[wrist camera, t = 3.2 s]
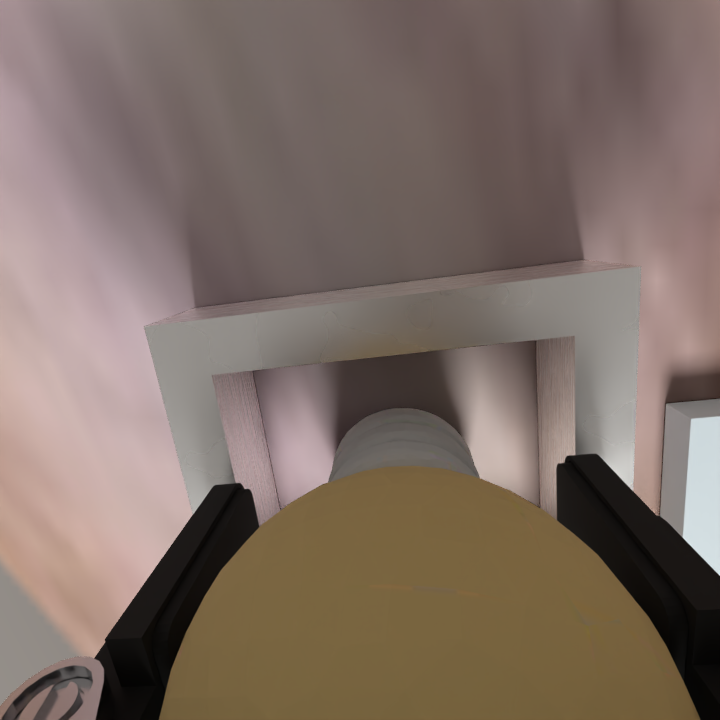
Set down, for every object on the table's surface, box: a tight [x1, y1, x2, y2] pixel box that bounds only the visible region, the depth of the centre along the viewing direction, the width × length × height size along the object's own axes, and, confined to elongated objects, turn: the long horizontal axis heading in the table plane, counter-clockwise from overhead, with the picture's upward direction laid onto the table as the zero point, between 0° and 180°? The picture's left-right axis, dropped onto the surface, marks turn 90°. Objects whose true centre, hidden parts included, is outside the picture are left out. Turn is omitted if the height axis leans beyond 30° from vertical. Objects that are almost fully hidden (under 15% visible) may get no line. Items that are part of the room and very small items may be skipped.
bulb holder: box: [144, 260, 641, 527], centre depth 11 cm, size 10×10×2 cm
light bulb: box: [159, 408, 700, 720], centre depth 8 cm, size 6×6×10 cm
